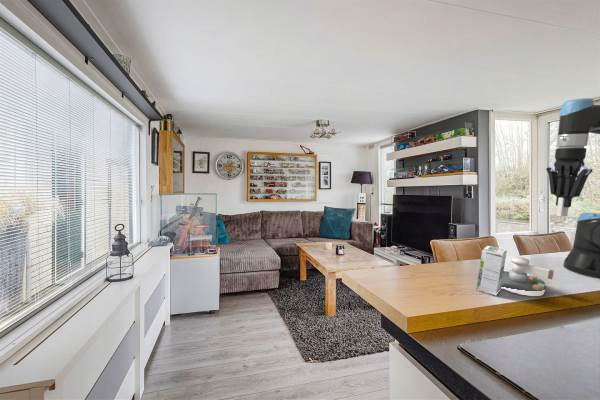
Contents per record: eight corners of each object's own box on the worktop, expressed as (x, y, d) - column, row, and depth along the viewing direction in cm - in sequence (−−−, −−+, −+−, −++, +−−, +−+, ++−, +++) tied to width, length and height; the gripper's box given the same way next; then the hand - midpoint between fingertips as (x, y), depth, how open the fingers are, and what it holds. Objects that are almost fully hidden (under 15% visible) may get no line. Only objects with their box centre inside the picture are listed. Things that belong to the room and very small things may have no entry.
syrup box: (480, 285, 96) (485, 244, 94) (501, 291, 92) (507, 249, 90) (475, 290, 92) (481, 248, 90) (497, 297, 88) (503, 253, 86)
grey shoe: (517, 275, 105) (519, 263, 104) (557, 295, 90) (560, 281, 89) (480, 276, 103) (481, 264, 102) (515, 297, 88) (517, 283, 87)
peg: (508, 271, 96) (510, 258, 95) (511, 267, 99) (513, 255, 98) (550, 282, 88) (553, 269, 87) (552, 277, 91) (555, 265, 90)
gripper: (542, 148, 100) (534, 212, 104) (583, 147, 87) (573, 220, 91) (560, 147, 101) (551, 211, 105) (603, 146, 89) (592, 219, 92)
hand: (561, 215), depth 98 cm, fingers closed
